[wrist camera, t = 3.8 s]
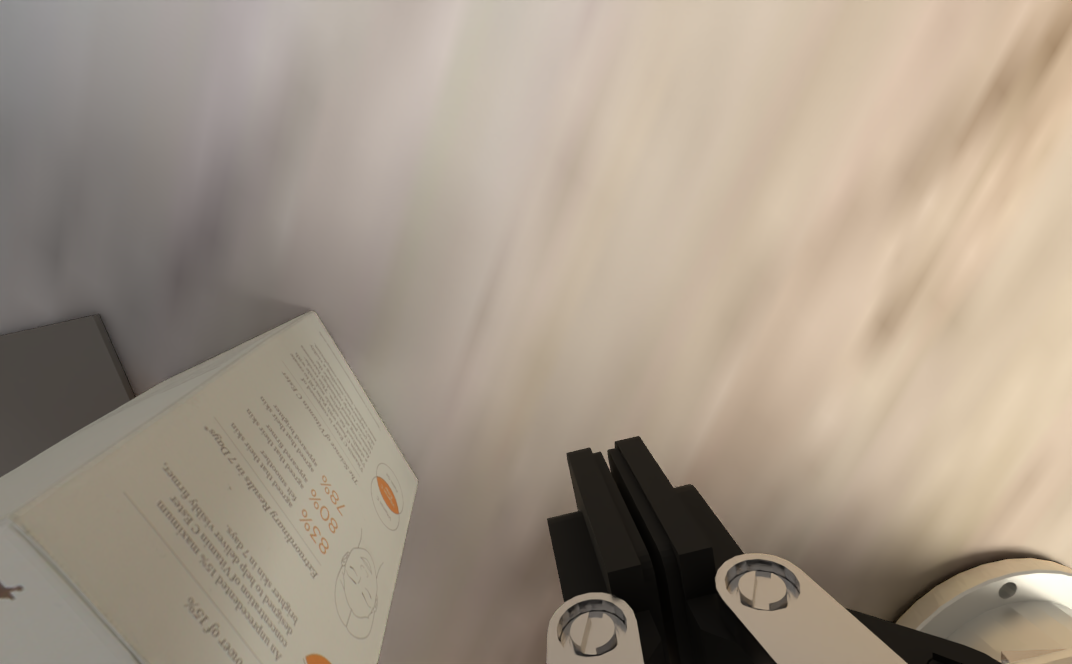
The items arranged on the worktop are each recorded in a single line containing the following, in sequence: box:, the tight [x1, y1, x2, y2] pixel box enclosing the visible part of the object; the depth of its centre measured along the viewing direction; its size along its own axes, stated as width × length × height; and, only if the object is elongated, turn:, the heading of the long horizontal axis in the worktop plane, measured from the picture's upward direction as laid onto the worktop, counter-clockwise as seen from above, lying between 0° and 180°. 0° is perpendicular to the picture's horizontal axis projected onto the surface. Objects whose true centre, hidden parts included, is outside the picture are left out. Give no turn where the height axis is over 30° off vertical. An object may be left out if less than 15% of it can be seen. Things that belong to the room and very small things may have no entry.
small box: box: [0, 311, 418, 664], centre depth 14 cm, size 8×6×13 cm
